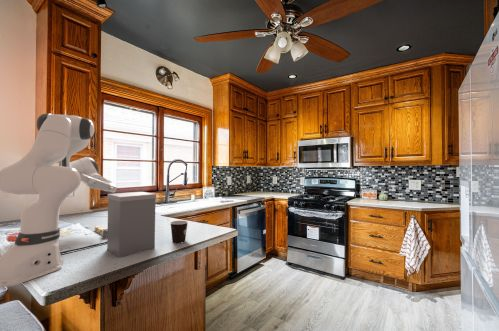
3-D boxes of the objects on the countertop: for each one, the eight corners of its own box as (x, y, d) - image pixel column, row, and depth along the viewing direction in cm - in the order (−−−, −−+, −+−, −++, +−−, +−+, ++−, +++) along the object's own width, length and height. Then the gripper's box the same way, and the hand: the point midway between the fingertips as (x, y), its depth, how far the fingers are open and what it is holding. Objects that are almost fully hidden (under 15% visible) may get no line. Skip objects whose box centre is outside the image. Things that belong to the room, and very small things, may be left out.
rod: (92, 231, 144) (93, 224, 144) (101, 229, 147) (101, 223, 147) (105, 238, 130) (105, 231, 130) (114, 236, 133) (114, 229, 133)
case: (106, 249, 113) (107, 194, 113) (141, 241, 125) (142, 191, 125) (118, 257, 103) (119, 197, 103) (155, 248, 116) (156, 194, 116)
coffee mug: (179, 237, 133) (180, 219, 133) (190, 240, 128) (191, 222, 128) (161, 243, 123) (162, 223, 123) (172, 246, 118) (172, 226, 118)
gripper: (79, 169, 138) (86, 173, 128) (113, 182, 152) (122, 187, 143) (73, 179, 136) (80, 184, 127) (108, 191, 151) (116, 197, 142)
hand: (102, 186), depth 135 cm, fingers open, 8 cm apart
